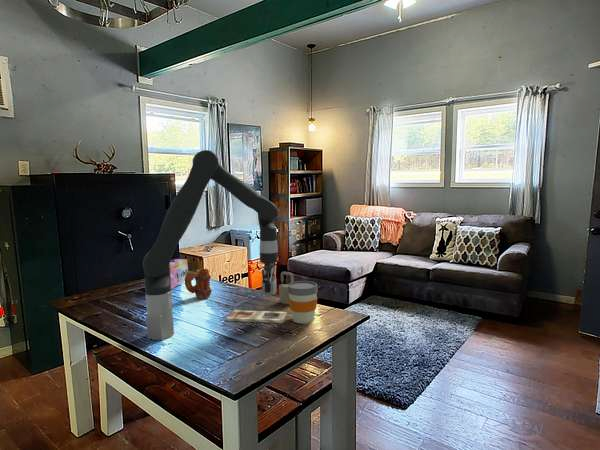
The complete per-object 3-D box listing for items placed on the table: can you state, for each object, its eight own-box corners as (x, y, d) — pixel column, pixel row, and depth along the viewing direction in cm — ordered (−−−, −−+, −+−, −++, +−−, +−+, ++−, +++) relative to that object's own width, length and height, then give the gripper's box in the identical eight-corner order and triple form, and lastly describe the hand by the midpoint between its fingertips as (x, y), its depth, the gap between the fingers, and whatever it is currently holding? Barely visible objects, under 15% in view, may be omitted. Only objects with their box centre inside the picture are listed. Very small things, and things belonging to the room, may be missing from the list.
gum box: (178, 279, 230) (177, 257, 228) (190, 280, 228) (189, 258, 227) (155, 291, 207) (154, 266, 205) (168, 291, 205) (167, 267, 203)
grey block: (273, 295, 157) (273, 280, 156) (262, 294, 158) (261, 280, 157) (276, 291, 162) (276, 277, 161) (265, 291, 163) (264, 277, 162)
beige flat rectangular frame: (287, 314, 165) (287, 311, 165) (282, 323, 155) (282, 320, 155) (234, 312, 169) (234, 310, 169) (226, 321, 160) (226, 318, 159)
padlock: (283, 300, 185) (282, 270, 184) (297, 303, 181) (296, 272, 179) (278, 302, 182) (277, 271, 180) (291, 305, 177) (291, 274, 176)
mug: (206, 293, 199) (204, 265, 198) (216, 296, 194) (214, 267, 192) (181, 300, 188) (180, 271, 186) (191, 304, 183) (189, 273, 181)
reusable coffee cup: (321, 315, 163) (320, 281, 162) (314, 326, 151) (313, 289, 150) (293, 313, 167) (292, 280, 165) (284, 323, 155) (283, 288, 153)
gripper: (273, 254, 150) (274, 295, 152) (281, 248, 164) (281, 286, 166) (255, 253, 152) (256, 295, 153) (264, 247, 166) (265, 285, 168)
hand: (269, 290), depth 160 cm, fingers closed on grey block, 5 cm apart
